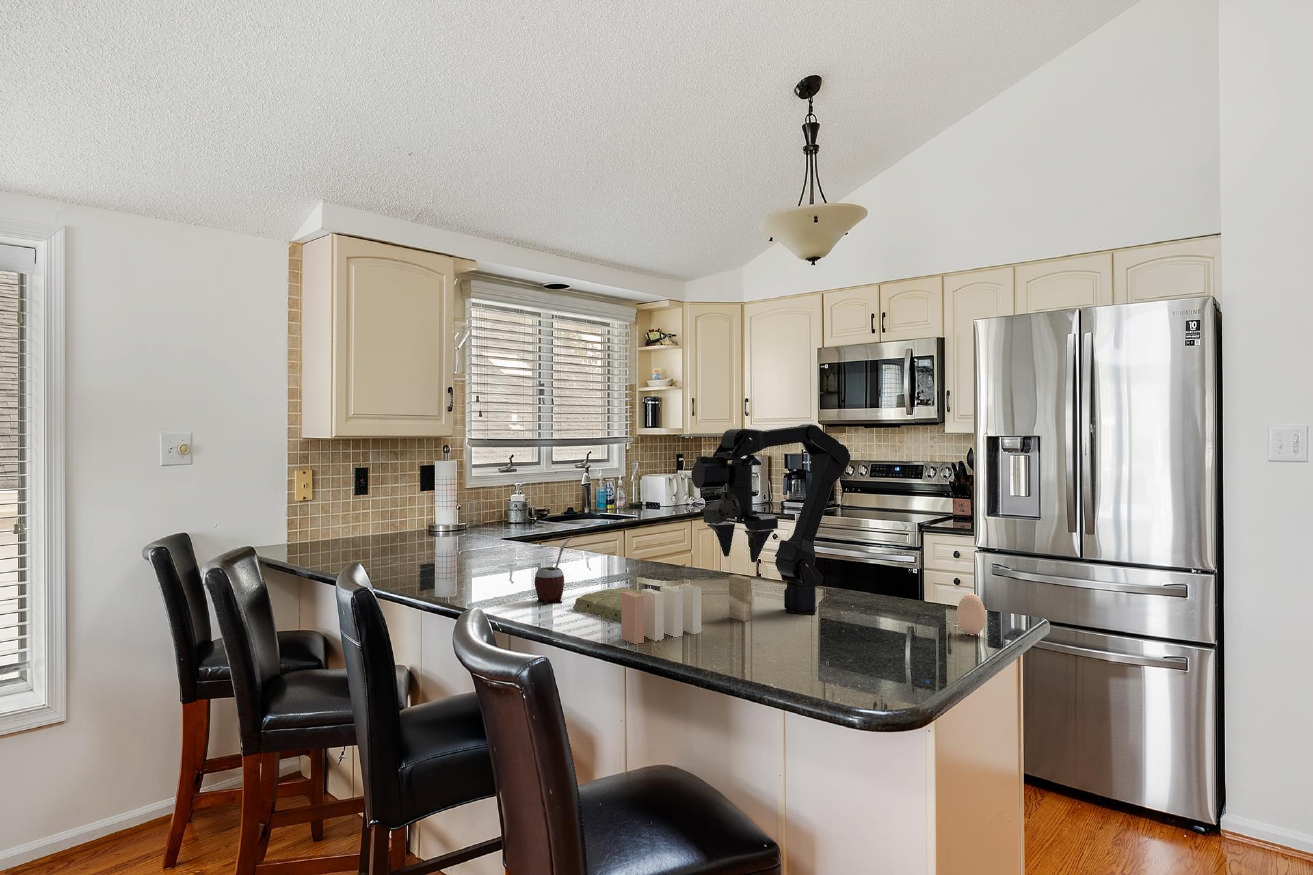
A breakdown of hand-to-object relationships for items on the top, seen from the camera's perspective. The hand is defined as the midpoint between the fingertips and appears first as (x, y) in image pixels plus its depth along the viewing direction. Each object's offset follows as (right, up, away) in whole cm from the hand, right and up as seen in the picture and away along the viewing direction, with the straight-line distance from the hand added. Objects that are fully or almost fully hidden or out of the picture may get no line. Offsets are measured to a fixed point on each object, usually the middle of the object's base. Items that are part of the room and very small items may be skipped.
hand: (739, 559), depth 156 cm
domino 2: (-19, -13, -15) cm, 27 cm away
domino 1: (-23, -13, -17) cm, 31 cm away
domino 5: (0, -13, 0) cm, 13 cm away
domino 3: (-15, -13, -12) cm, 23 cm away
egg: (+44, -13, -13) cm, 48 cm away
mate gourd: (-43, -13, +16) cm, 48 cm away
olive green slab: (-25, -14, +9) cm, 29 cm away
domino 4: (-11, -13, -10) cm, 20 cm away
